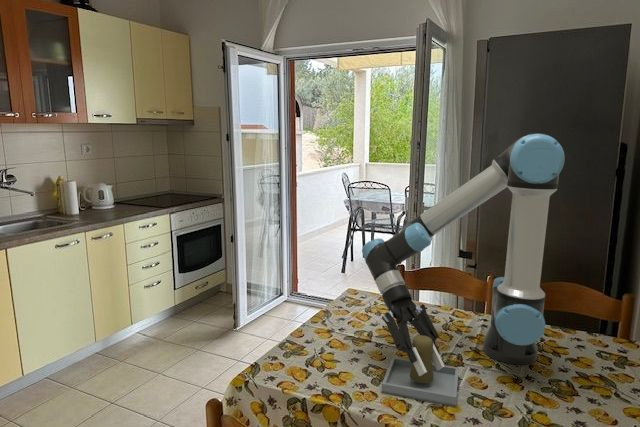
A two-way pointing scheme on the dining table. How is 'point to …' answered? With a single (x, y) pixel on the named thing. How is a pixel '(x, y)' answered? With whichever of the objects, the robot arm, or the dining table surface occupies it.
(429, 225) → the robot arm
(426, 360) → the cork
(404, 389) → the tray
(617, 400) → the dining table surface
